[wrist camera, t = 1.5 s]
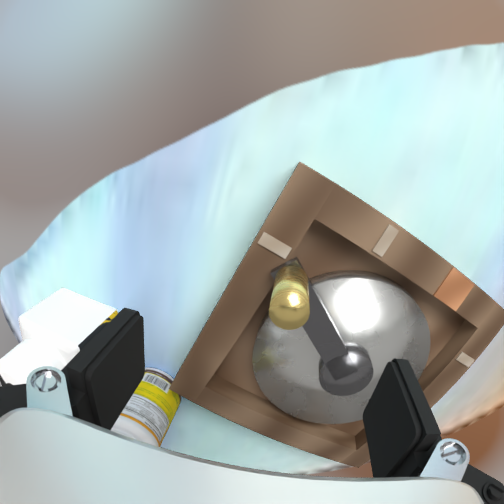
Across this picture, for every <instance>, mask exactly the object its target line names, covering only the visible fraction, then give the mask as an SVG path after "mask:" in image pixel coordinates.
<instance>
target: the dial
mask: <svg viewBox="0 0 504 504" xmlns="http://www.w3.org/2000/svg"><path fill="white" fill-rule="evenodd" d="M270 274H271V275H272V277H273V279H274V280H275V282H274V287H273V292H272V297H271V302H270V307H269V310H268V311H267V313H266V314H265V316H264V318H263V320H262V321H261V324H260V327H259V329H258V332H257V336H256V340H255V344H254V349H253V358H252V363H253V371H254V375H255V378H256V381H257V383H258V385H259V387H260V389H261V390H262V392H263V393H264V395H265V396H266V397H267V398H268V399H269V400H270V401H271V402H272V403H273V404H274V405H275V406H276V407H278V408H279V409H281V410H282V411H284V412H285V413H287V414H289V415H291V416H294V417H296V418H299V419H302V420H305V421H309V422H314V423H321V424H342V423H349V422H355V421H359V420H362V419H363V412H364V409H365V407H366V405H367V404H368V402H369V400H370V398H371V396H372V394H373V392H374V390H375V388H376V385H377V383H378V381H379V379H380V377H381V375H382V373H383V371H384V368H385V366H386V364H387V363H388V362H391V361H392V360H393V359H394V358H396V359H407V360H408V361H409V363H410V365H411V367H412V369H413V371H414V373H415V375H416V377H417V380H418V379H419V378H420V376H421V374H422V372H423V370H424V368H425V366H426V363H427V360H428V356H429V352H430V331H429V327H428V323H427V320H426V318H425V316H424V314H423V312H422V311H421V309H420V307H419V306H418V305H417V303H416V302H415V300H414V299H413V297H412V296H411V295H410V294H409V293H408V292H407V291H406V290H405V289H404V288H403V287H402V286H400V285H399V284H398V283H396V282H394V281H393V280H391V279H389V278H387V277H384V276H382V275H379V274H376V273H372V272H367V271H359V270H340V271H334V272H328V273H324V274H321V275H317V276H314V277H312V278H309V277H308V275H307V273H306V272H305V270H304V268H303V266H302V265H301V263H300V261H299V259H298V258H297V257H295V258H293V259H291V260H289V261H287V262H285V263H283V264H281V265H279V266H277V267H276V268H274V269H272V270H271V273H270Z"/></svg>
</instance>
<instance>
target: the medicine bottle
mask: <svg viewBox="0 0 504 504" xmlns="http://www.w3.org/2000/svg"><path fill="white" fill-rule="evenodd" d="M117 314H118V310H117V309H116V308H113V307H111V306H108V305H105V304H103V303H100V302H98V301H95V300H93V299H90V298H88V297H85V296H83V295H80V294H78V293H75V292H73V291H71V290H68V289H66V288H61V289H59V290H58V291H56V292H55V293H53V294H52V295H50V296H49V297H47V298H46V299H44V300H43V301H41V302H40V303H38V304H37V305H35V306H34V307H32V308H31V309H29V310H28V311H26V312H25V313H23V314H22V315H20V317H19V325H20V330H21V336H22V340H23V341H22V342H21V343H20V344H18V345H17V346H16V347H15V348H13V349H12V350H11V351H10V352H8V353H7V354H6V355H5V356H4V357H2V358H1V359H0V381H1V384H2V386H11V385H19V384H26V381H27V377H28V375H29V373H30V372H32V371H33V370H34V369H36V368H39V367H43V366H51V367H55V368H57V369H59V370H62V369H63V368H64V367H65V366H66V365H67V364H68V363H69V362H70V361H71V360H72V359H73V358H74V356H75V355H76V354H77V353H78V352H79V351H80V350H81V349H82V348H83V347H84V346H85V345H86V344H87V343H88V342H89V341H90V340H91V339H92V338H93V337H94V336H95V335H97V334H98V333H99V332H100V331H101V330H102V329H103V328H104V327H105V326H106V325H107V324H108V323H109V322H110V321H111V320H112V319H113V318H114V317H115V316H116V315H117Z"/></svg>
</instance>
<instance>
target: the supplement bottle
mask: <svg viewBox="0 0 504 504" xmlns="http://www.w3.org/2000/svg"><path fill="white" fill-rule="evenodd" d="M173 380H174V379H173V378H172V377H171V376H170V375H168V374H167V373H165V372H163V371H161V370H159V369H156V368H149V367H147V368H145V374H144V377H143V379H142V381H141V382H140V384H139V385H138V387H137V389H136V390H135V392H134V393H133V395H132V397H131V398H130V400H129V401H128V403H127V405H126V406H125V408H124V409H123V411H122V413H121V414H120V416H119V417H118V419H117V421H116V422H115V424H114V425H113V427H112V429H111V431H113V432H116V433H119V434H122V435H124V436H127V437H130V438H133V439H136V440H139V441H142V442H145V443H148V444H151V445H154V446H158V447H160V445H161V443H162V441H163V439H164V437H165V434H166V432H167V430H168V428H169V426H170V424H171V422H172V419H173V417H174V415H175V413H176V411H177V409H178V406H179V404H180V402H181V399H182V396H181V395H179V394H177V393H175V392H173V391H172V390H170V389H169V387H170V386H171V384H172V382H173Z"/></svg>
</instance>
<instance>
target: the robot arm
mask: <svg viewBox="0 0 504 504" xmlns="http://www.w3.org/2000/svg"><path fill="white" fill-rule="evenodd" d="M144 374H145V360H144V325H143V317H142V316H140V314H139V312H138V311H135V310H131V309H128V308H124V309H122V310H121V311H120V312H119V313H118V314H117V315H116V316H115V317H114V318H113V319H112V320H111V321H110V322H109V323H108V324H107V325H106V326H105V327H104V328H103V329H102V330H101V331H100V332H99V333H98V334H97V335H95V336H94V337H93V338H92V339H91V340H90V341H89V342H88V343H87V344H86V345H85V346H84V347H83V348H82V349H81V350H80V351H79V352H78V353H77V354H76V355H75V356H74V358H73V359H72V360H71V361H70V362H69V363H68V364H67V365H66V366H65V367H64V368H63V369H62V370H59V369H57V368H55V367H51V366H43V367H39V368H36V369H34V370H33V371H32V372H30V373H29V375H28V377H27V381H26V384H19V385H11V386H2V387H0V504H504V486H503V484H502V483H501V482H499V481H498V480H496V479H494V478H492V477H490V476H489V475H487V474H485V473H483V472H482V471H480V470H478V469H476V468H474V467H473V466H471V465H469V464H468V462H469V458H470V457H469V456H470V455H469V451H468V450H467V448H466V446H465V445H464V444H463V443H461V442H460V441H458V440H455V439H449V438H448V439H443V440H442V439H441V436H440V434H441V432H440V430H439V427H438V425H437V423H436V420H435V418H434V415H433V413H432V411H431V409H430V406H429V404H428V402H427V399H426V397H425V395H424V393H423V391H422V388H421V386H420V384H419V382H418V380H417V377H416V375H415V373H414V371H413V369H412V367H411V365H410V363H409V361H408V360H407V359H396V358H394V359H393V360H392V361H391V362H388V363H387V364H386V366H385V368H384V371H383V373H382V375H381V377H380V379H379V381H378V383H377V385H376V388H375V390H374V392H373V394H372V396H371V398H370V400H369V402H368V404H367V405H366V407H365V409H364V412H363V423H364V428H365V433H366V438H367V444H368V449H369V455H370V460H371V466H372V472H373V478H346V477H322V476H308V475H297V474H288V473H279V472H271V471H264V470H258V469H251V468H245V467H240V466H234V465H229V464H224V463H219V462H215V461H210V460H206V459H202V458H198V457H193V456H190V455H186V454H182V453H178V452H175V451H171V450H168V449H164V448H161V447H158V446H154V445H151V444H148V443H145V442H142V441H139V440H136V439H133V438H130V437H127V436H124V435H122V434H119V433H116V432H113V431H111V429H112V427H113V425H114V424H115V422H116V421H117V419H118V417H119V416H120V414H121V413H122V411H123V409H124V408H125V406H126V405H127V403H128V401H129V400H130V398H131V397H132V395H133V393H134V392H135V390H136V389H137V387H138V385H139V384H140V382H141V381H142V379H143V377H144Z"/></svg>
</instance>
